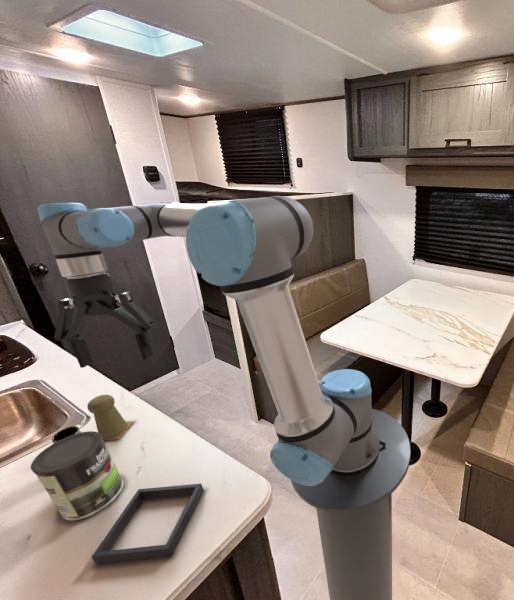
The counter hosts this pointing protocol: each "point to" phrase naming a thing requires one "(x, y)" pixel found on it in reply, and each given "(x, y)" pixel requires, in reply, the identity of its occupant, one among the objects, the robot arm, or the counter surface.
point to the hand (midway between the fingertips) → (118, 361)
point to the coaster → (121, 433)
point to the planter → (65, 433)
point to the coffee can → (78, 475)
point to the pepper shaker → (107, 416)
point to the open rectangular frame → (141, 553)
